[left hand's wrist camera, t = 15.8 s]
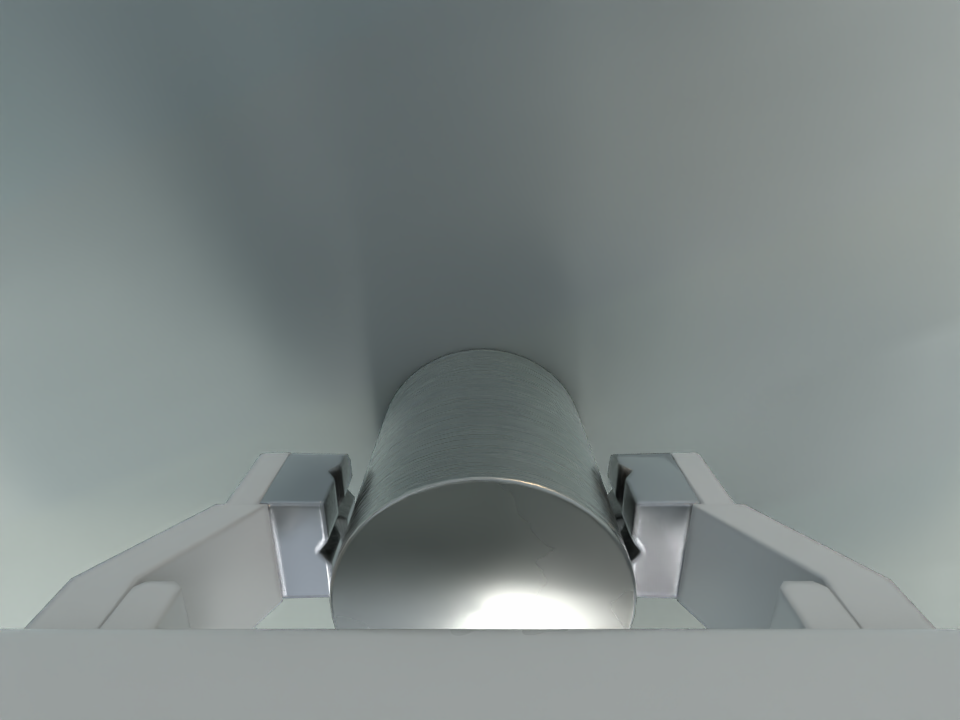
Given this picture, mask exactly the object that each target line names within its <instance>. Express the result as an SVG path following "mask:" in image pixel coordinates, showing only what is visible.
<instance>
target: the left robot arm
mask: <svg viewBox="0 0 960 720" xmlns="http://www.w3.org/2000/svg"><path fill="white" fill-rule="evenodd" d="M351 478H352V468H351V460H350V458H349V456H348V454H324V453H290V452H285V453H263V454H260V455H259V457H258V458H257V459H256V461H255V462H254V464H253V465H252V466H251V468H250V469H249V471H248V472H247V474H246V475H245V476H244V478H243V479H242V481H241V482H240V484H239V485H238V486H237V488H236V489H235V491H234V492H233V493H232V495H231V496H230V498H229V499H228V501H227V502H226V503H225V504H215V505H213V506H211V507H210V508H208V509H206V510H204V511H202V512H200V513H198V514H196V515H194V516H192V517H190V518H188V519H186V520H184V521H182V522H180V523H178V524H176V525H174V526H172V527H170V528H169V529H167V530H165V531H163V532H161V533H159V534H157V535H155V536H153V537H151V538H149V539H147V540H145V541H143V542H141V543H139V544H137V545H135V546H133V547H131V548H130V549H128V550H126V551H124V552H122V553H120V554H118V555H116V556H114V557H112V558H110V559H108V560H106V561H104V562H102V563H100V564H98V565H96V566H94V567H92V568H91V569H89V570H87V571H85V572H83V573H81V574H79V575H77V576H75V577H73V578H71V579H70V580H69V581H68V582H67V583H66V584H65V585H64V586H63V588H62V589H61V590H60V591H59V592H58V593H57V594H56V595H55V596H54V597H53V598H52V599H51V600H50V601H49V602H48V604H47V605H46V606H45V607H44V608H43V609H42V610H41V611H40V612H39V613H38V614H37V615H36V616H35V617H34V619H33V620H32V621H31V622H30V623H29V624H28V625H27V626H26V627H25V628H24V629H0V720H960V629H936V628H935V627H934V626H933V625H932V624H931V623H930V622H929V620H928V619H927V618H926V617H925V616H924V615H923V614H922V613H921V612H920V611H919V610H918V609H917V608H916V606H915V605H914V604H913V603H912V602H911V601H910V600H909V599H908V598H907V597H906V596H905V595H904V594H903V592H902V591H901V590H900V589H899V588H898V587H897V586H896V585H895V584H894V583H893V582H892V581H891V580H890V579H889V578H887V577H885V576H883V575H881V574H879V573H877V572H875V571H873V570H871V569H869V568H867V567H865V566H863V565H861V564H859V563H857V562H856V561H854V560H852V559H850V558H848V557H846V556H844V555H842V554H840V553H838V552H836V551H834V550H832V549H830V548H828V547H826V546H824V545H822V544H821V543H819V542H817V541H815V540H813V539H811V538H809V537H807V536H805V535H803V534H801V533H799V532H797V531H795V530H793V529H791V528H789V527H787V526H786V525H784V524H782V523H780V522H778V521H776V520H774V519H772V518H770V517H768V516H766V515H764V514H762V513H760V512H758V511H756V510H754V509H753V508H751V507H749V506H747V505H745V504H735V503H734V502H733V501H732V499H731V498H730V496H729V495H728V493H727V492H726V491H725V489H724V488H723V486H722V485H721V484H720V482H719V481H718V479H717V478H716V477H715V475H714V474H713V472H712V471H711V470H710V468H709V467H708V465H707V464H706V463H705V461H704V460H703V458H702V457H701V456H700V454H698V453H695V452H688V453H653V454H615V455H611V458H610V461H609V468H608V478H609V481H610V483H611V486H612V491H611V492H610V493H609V494H608V495H607V496H608V499H609V501H610V504H611V507H612V510H613V513H614V515H615V518H616V521H617V524H618V527H619V529H620V532H621V535H622V538H623V541H624V543H625V546H626V549H627V552H628V555H629V557H630V560H631V563H632V566H633V570H634V575H635V579H636V588H637V597H646V598H678V599H677V601H678V602H679V603H680V604H681V605H682V606H684V607H685V608H686V609H687V610H688V611H689V612H690V613H691V614H692V615H693V616H694V617H695V618H697V619H698V620H699V621H700V622H701V623H702V624H703V625H704V626H705V627H706V628H707V629H253V628H254V627H255V626H256V625H257V624H258V623H259V622H261V621H262V620H263V619H264V618H265V617H266V616H267V615H268V614H269V613H270V612H271V611H272V610H274V609H275V608H276V607H277V606H278V605H279V604H280V603H281V602H282V601H283V600H282V598H313V597H330V582H331V577H332V572H333V568H334V565H335V562H336V559H337V556H338V553H339V550H340V547H341V544H342V541H343V539H344V536H345V533H346V530H347V527H348V524H349V521H350V518H351V515H352V512H353V509H354V506H355V498H354V496H353V495H352V494H351V493H350V492H349V491H348V486H349V484H350V481H351Z"/></svg>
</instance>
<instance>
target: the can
mask: <svg viewBox="0 0 960 720" xmlns="http://www.w3.org/2000/svg"><path fill="white" fill-rule="evenodd" d="M636 602H637V588H636V579H635V575H634V570H633V566H632V563H631V560H630V557H629V555H628V552H627V549H626V546H625V543H624V541H623V538H622V535H621V532H620V529H619V527H618V524H617V521H616V518H615V515H614V513H613V510H612V507H611V504H610V501H609V499H608V496H607V493H606V490H605V487H604V485H603V482H602V479H601V476H600V473H599V471H598V468H597V465H596V462H595V459H594V456H593V454H592V451H591V448H590V445H589V442H588V440H587V437H586V434H585V431H584V428H583V426H582V423H581V420H580V417H579V414H578V412H577V409H576V407H575V404H574V402H573V400H572V399H571V397H570V395H569V393H568V392H567V390H566V389H565V388H564V387H563V385H562V384H561V383H560V382H559V381H558V380H557V379H556V378H555V377H554V376H553V375H552V374H551V373H550V372H548V371H547V370H545V369H544V368H543V367H541V366H540V365H538V364H536V363H534V362H533V361H531V360H529V359H526V358H524V357H521V356H519V355H516V354H512V353H508V352H504V351H497V350H489V349H483V350H467V351H460V352H456V353H453V354H449V355H446V356H443V357H441V358H438V359H436V360H434V361H432V362H430V363H428V364H427V365H425V366H423V367H422V368H420V369H419V370H418V371H416V372H415V373H414V374H412V375H411V376H410V377H409V378H408V379H407V380H406V381H405V382H404V383H403V385H402V386H401V387H400V389H399V390H398V391H397V392H396V394H395V396H394V398H393V399H392V401H391V403H390V405H389V408H388V410H387V413H386V416H385V419H384V422H383V425H382V427H381V430H380V433H379V436H378V439H377V442H376V445H375V448H374V451H373V454H372V457H371V460H370V463H369V465H368V468H367V471H366V474H365V477H364V480H363V483H362V486H361V489H360V492H359V495H358V498H357V501H356V503H355V506H354V509H353V512H352V515H351V518H350V521H349V524H348V527H347V530H346V533H345V536H344V539H343V541H342V544H341V547H340V550H339V553H338V556H337V559H336V562H335V565H334V568H333V572H332V577H331V582H330V607H331V615H332V619H333V622H334V626H335V629H631V627H632V624H633V620H634V617H635V611H636Z"/></svg>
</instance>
